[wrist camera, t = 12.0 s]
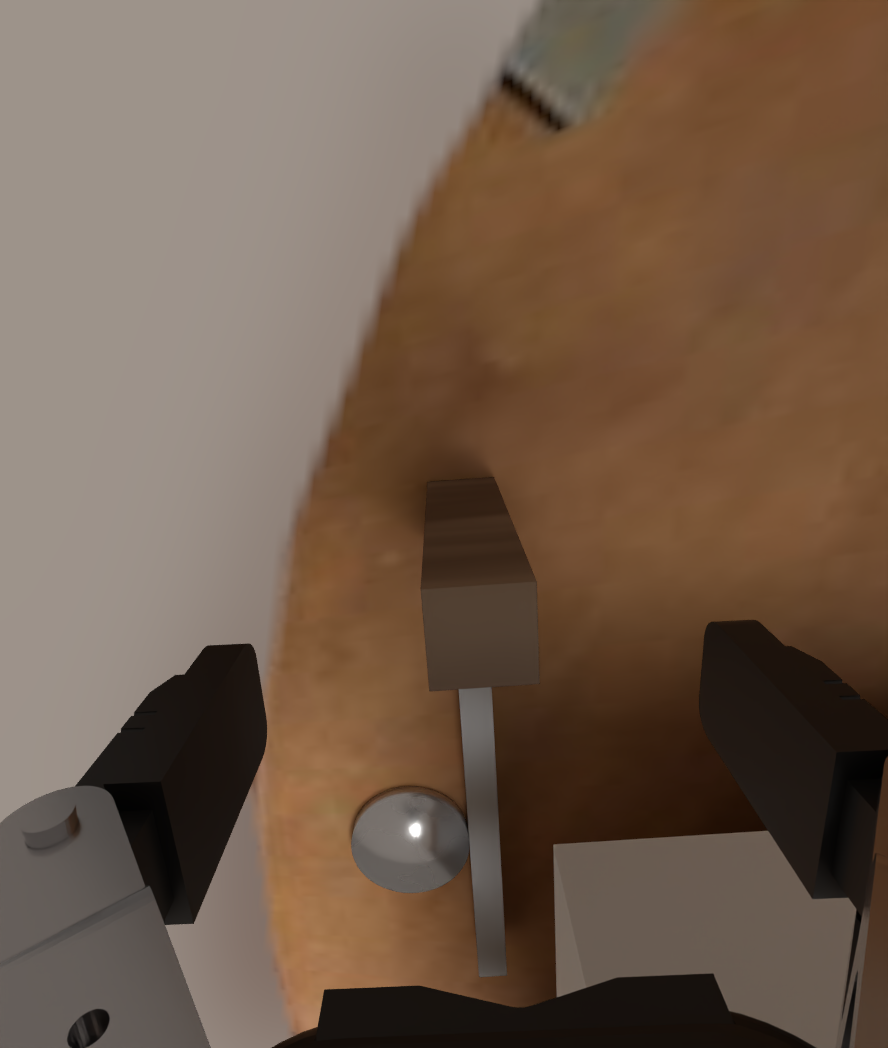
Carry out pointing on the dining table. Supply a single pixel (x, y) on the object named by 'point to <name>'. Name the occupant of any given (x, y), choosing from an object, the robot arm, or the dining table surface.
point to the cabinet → (705, 924)
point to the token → (410, 839)
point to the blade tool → (478, 660)
